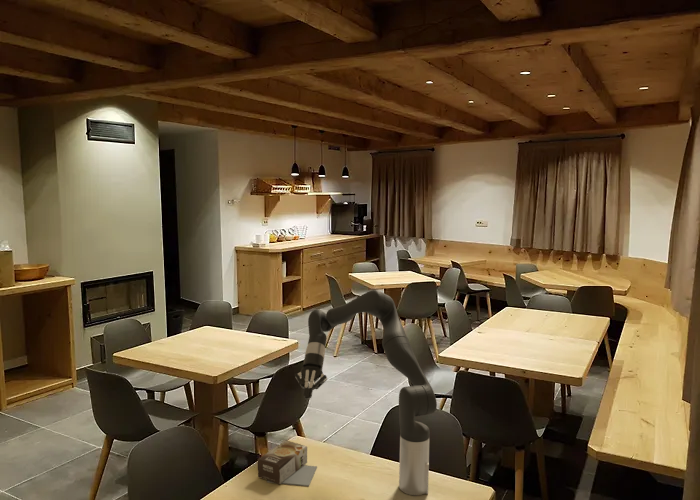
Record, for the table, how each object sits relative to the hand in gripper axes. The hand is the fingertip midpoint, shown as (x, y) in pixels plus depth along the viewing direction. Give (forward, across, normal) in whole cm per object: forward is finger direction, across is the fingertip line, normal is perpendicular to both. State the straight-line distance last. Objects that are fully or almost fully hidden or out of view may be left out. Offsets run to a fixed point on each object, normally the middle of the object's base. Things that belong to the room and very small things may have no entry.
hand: (307, 398), depth 193 cm
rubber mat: (+28, 0, +3) cm, 28 cm away
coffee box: (+19, 0, -1) cm, 19 cm away
